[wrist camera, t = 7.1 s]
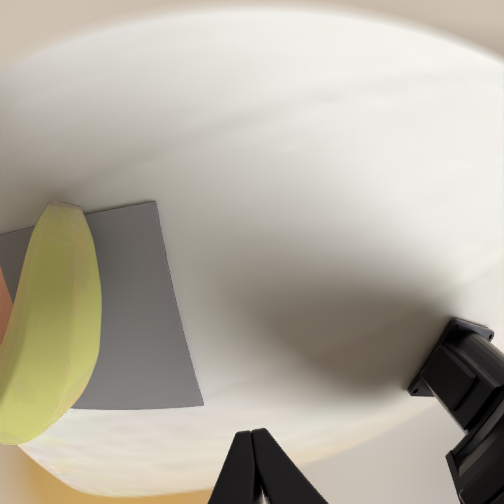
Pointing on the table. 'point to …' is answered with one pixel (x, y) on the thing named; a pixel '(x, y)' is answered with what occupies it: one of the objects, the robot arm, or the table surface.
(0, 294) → the pad
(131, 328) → the mat
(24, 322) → the banana
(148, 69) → the table surface
